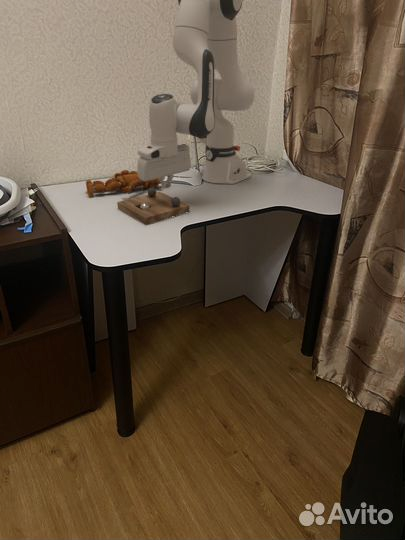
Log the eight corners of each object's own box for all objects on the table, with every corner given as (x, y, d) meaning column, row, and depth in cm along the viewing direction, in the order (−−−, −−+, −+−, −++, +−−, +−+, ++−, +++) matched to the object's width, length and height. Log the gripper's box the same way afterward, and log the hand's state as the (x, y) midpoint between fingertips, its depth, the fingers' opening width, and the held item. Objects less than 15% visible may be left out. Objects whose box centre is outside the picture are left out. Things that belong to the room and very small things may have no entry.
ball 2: (176, 203, 138) (176, 194, 136) (182, 206, 136) (182, 197, 134) (169, 205, 136) (169, 196, 134) (174, 208, 134) (174, 199, 132)
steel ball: (146, 209, 139) (145, 200, 137) (152, 212, 136) (151, 203, 135) (138, 212, 137) (137, 203, 135) (143, 215, 135) (142, 206, 133)
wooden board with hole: (159, 198, 150) (159, 191, 148) (189, 212, 138) (189, 205, 137) (117, 208, 139) (117, 202, 138) (146, 225, 128) (145, 217, 126)
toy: (92, 206, 144) (171, 194, 153) (89, 188, 140) (169, 177, 149) (85, 189, 160) (157, 179, 169) (82, 173, 156) (155, 163, 165)
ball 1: (153, 194, 146) (152, 185, 144) (158, 196, 144) (157, 188, 142) (145, 195, 144) (145, 187, 142) (150, 198, 142) (150, 189, 140)
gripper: (183, 141, 139) (184, 178, 147) (133, 151, 128) (137, 191, 135) (194, 144, 135) (194, 183, 143) (144, 155, 124) (147, 196, 131)
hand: (166, 187), depth 139 cm, fingers closed
